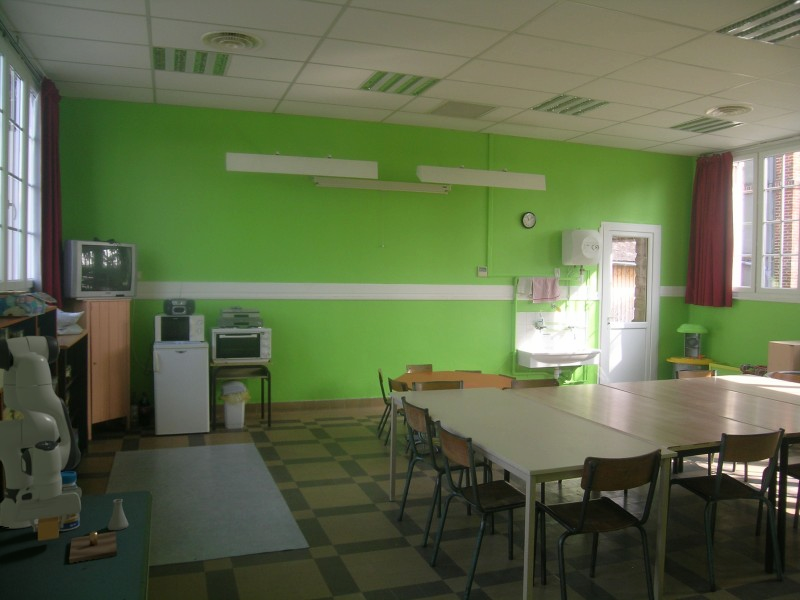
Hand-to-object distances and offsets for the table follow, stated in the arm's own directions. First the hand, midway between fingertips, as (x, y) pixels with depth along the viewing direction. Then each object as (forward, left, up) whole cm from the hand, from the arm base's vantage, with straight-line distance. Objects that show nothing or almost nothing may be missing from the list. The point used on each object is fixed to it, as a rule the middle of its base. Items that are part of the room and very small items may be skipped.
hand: (48, 529), depth 221 cm
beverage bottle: (-16, +5, -6) cm, 18 cm away
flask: (-8, +22, -6) cm, 24 cm away
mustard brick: (0, 0, -2) cm, 2 cm away
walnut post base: (+9, +14, -6) cm, 18 cm away
